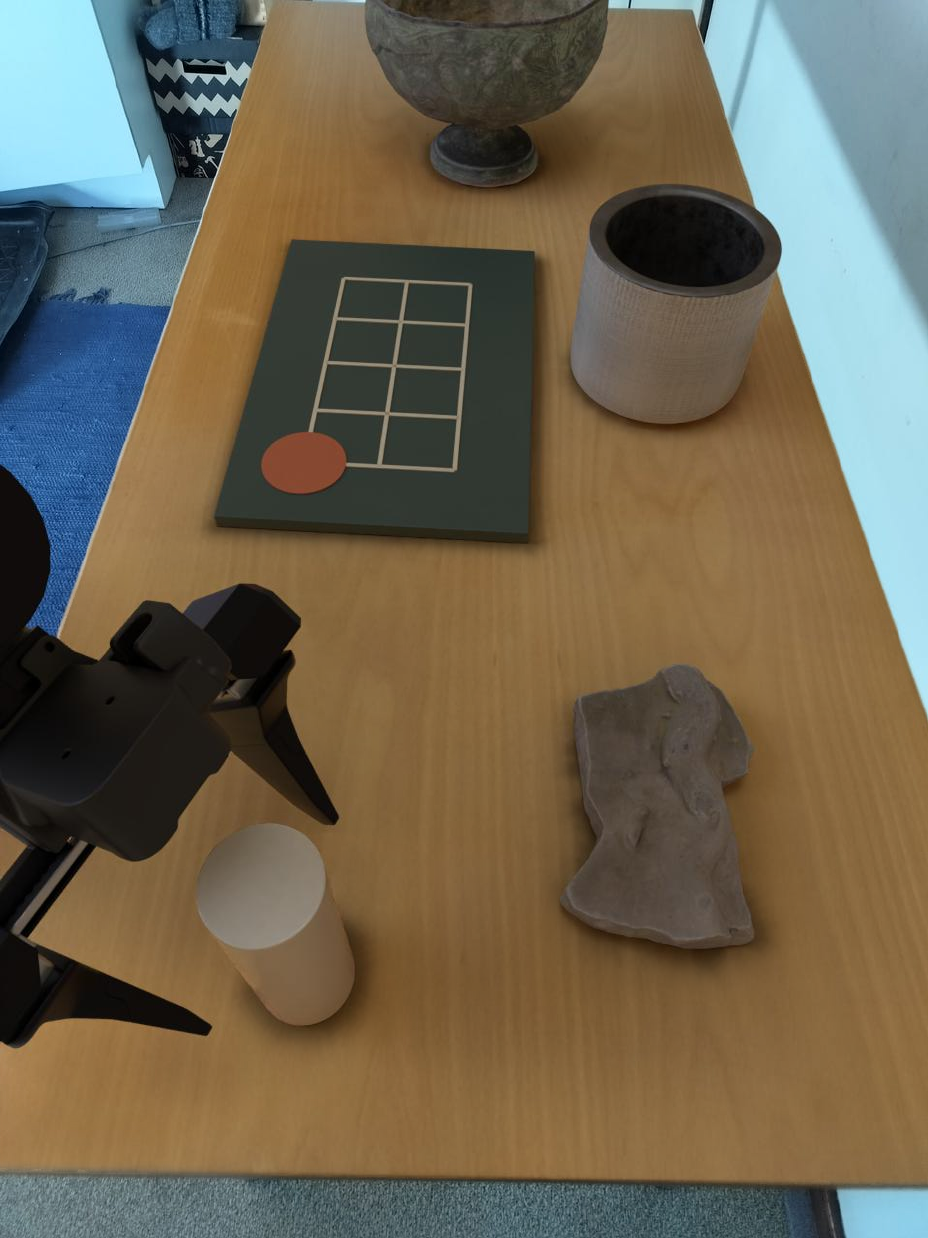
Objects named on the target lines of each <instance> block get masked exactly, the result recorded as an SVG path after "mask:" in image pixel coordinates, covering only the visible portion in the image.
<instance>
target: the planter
mask: <svg viewBox="0 0 928 1238" xmlns="http://www.w3.org/2000/svg"><path fill="white" fill-rule="evenodd" d="M782 253H783V244H782V240H781V237H780V235H779V232H778V230H777V229H776V227H775V226H774V224H773V223H772V222H771V221H770V219H768V218H767V216H766V215H765V214H763V213H762V212H761V211H759V210H758V209H757V208H755V207H754V206H753V205H751V204H750V203H748V202H746V201H745V200H742V199H741V198H738V197H736V196H734V195H732V194H728V193H726V192H724V191H720V190H717V189H713V188H711V187H710V188H709V187H706V186H700V185H693V184H686V183H685V184H684V183H655V184H649V185H648V184H647V185H643V186H637V187H634V188H630V189H628V190H625V191H622V192H620V193H618V194H616V195H614V196H612V197H611V198H608V199H607V200H606V201H605V202H603V203H602V205H600V206H599V207H598V208H597V210H595V212H594V214H593V216H592V218H591V220H590V223H589V227H588V235H587V242H586V248H585V253H584V254H585V255H584V262H583V269H582V273H581V281H580V286H579V293H578V300H577V306H576V311H575V318H574V324H573V330H572V337H571V344H570V353H569V355H570V367H571V371H572V374H573V376H574V379H575V380H576V382H577V384H578V385H579V387H580V388H581V389H582V390H583V392H584V393H585V394H586V395H587V396H588V397H589V398H590V399H592V400H593V401H594V402H596V404H598V405H600V406H602V407H603V408H605V409H606V410H608V411H610V412H612V413H615V414H616V415H619V416H621V417H624V418H627V419H630V420H633V421H638V422H641V423H647V424H660V425H661V424H662V425H663V424H665V425H672V424H673V425H674V424H683V423H690V422H693V421H697V420H701V419H704V418H706V417H708V416H710V415H712V414H715V413H716V412H718V411H720V410H721V409H723V408H724V406H726V405H727V404H728V403H730V401H731V400H732V399H733V397H734V396H735V394H736V392H737V390H738V389H739V387H740V385H741V382H742V380H743V377H744V374H745V372H746V371H745V370H746V367H747V364H748V361H749V359H750V356H751V352H752V349H753V345H754V342H755V340H756V337H757V333H758V329H759V327H760V323H761V321H762V317H763V314H764V311H765V308H766V305H767V302H768V298H769V295H770V293H771V289H772V287H773V284H774V280H775V277H776V274H777V272H778V269H779V266H780V263H781V259H782Z"/></svg>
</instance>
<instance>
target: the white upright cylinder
mask: <svg viewBox="0 0 928 1238" xmlns="http://www.w3.org/2000/svg"><path fill="white" fill-rule="evenodd" d="M195 902H196V903H195V904H196V908H197V912H198V915H199V917H200V920H201V922H202V923H203V925H204V926H205V928H206V929H207V931H208V932H209V934H210V935H211V936H212V938H213V939H214V940H215V942H216V943H217V944H218V946H219V947H220V948H221V950H222V951H223V953H225V955H226V956H227V958H228V959H229V960H230V962H231V963H232V964H233V965H234V966H235V968H236V970H237V971H238V972H239V974H240V975H241V976H242V978H243V979H244V980H245V982H246V984H247V985H248V986H249V987H250V989H251V990H252V992H253V993H254V994H255V995H256V997H257V998H258V999H259V1000H260V1002H261V1003H262V1005H263V1006H264V1007H265V1008H266V1010H267V1011H268V1012H269V1013H270V1014H271V1015H272V1016H273V1017H274V1018H276V1019H277V1020H279V1021H281V1022H283V1023H285V1024H288V1025H292V1026H300V1027H301V1026H311V1025H316V1024H319V1023H321V1022H324V1021H325V1020H327V1019H329V1018H330V1017H332V1016H334V1014H336V1013H337V1012H338V1011H339V1010H340V1009H341V1008H342V1006H343V1005H344V1004H345V1003H346V1001H347V1000H348V998H349V996H350V994H351V992H352V990H353V987H354V983H355V979H356V962H355V958H354V954H353V951H352V948H351V944H350V942H349V938H348V935H347V931H346V929H345V926H344V922H343V920H342V916H341V914H340V911H339V907H338V904H337V900H336V897H335V894H334V891H333V888H332V885H331V882H330V879H329V875H328V872H327V869H326V866H325V863H324V860H323V858H322V855H321V853H320V850H319V849H318V848H317V846H316V845H315V844H314V842H313V841H312V840H311V839H310V838H309V837H308V836H306V834H304V833H303V832H301V831H299V830H298V829H296V828H294V827H291V826H289V825H286V824H282V823H275V822H262V823H255V824H251V825H247V826H245V827H241V828H240V829H239V828H238V829H237V830H235V831H234V832H231V833H230V834H228V835H227V836H225V837H224V838H223V839H222V840H221V841H219V843H218V844H216V845H215V847H214V848H212V850H211V851H210V852H209V854H208V855H207V857H206V858H205V860H204V862H203V863H202V865H201V868H200V870H199V873H198V876H197V880H196V885H195Z"/></svg>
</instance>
